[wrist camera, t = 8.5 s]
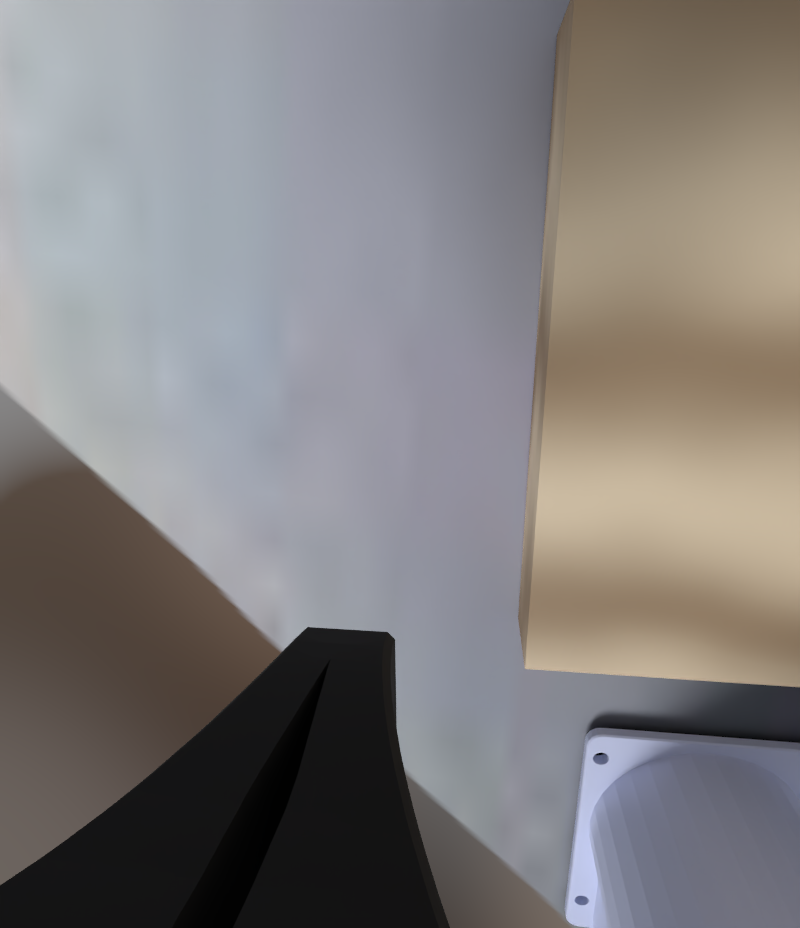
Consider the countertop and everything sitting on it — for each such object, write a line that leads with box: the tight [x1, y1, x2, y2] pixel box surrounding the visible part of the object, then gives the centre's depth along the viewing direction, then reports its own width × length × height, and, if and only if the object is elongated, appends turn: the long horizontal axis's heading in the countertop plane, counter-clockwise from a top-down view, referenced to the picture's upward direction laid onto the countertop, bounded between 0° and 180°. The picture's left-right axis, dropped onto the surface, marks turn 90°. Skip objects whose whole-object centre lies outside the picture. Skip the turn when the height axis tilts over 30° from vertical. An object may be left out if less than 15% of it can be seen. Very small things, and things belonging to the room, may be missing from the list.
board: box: [518, 0, 800, 687], centre depth 14 cm, size 16×12×2 cm
